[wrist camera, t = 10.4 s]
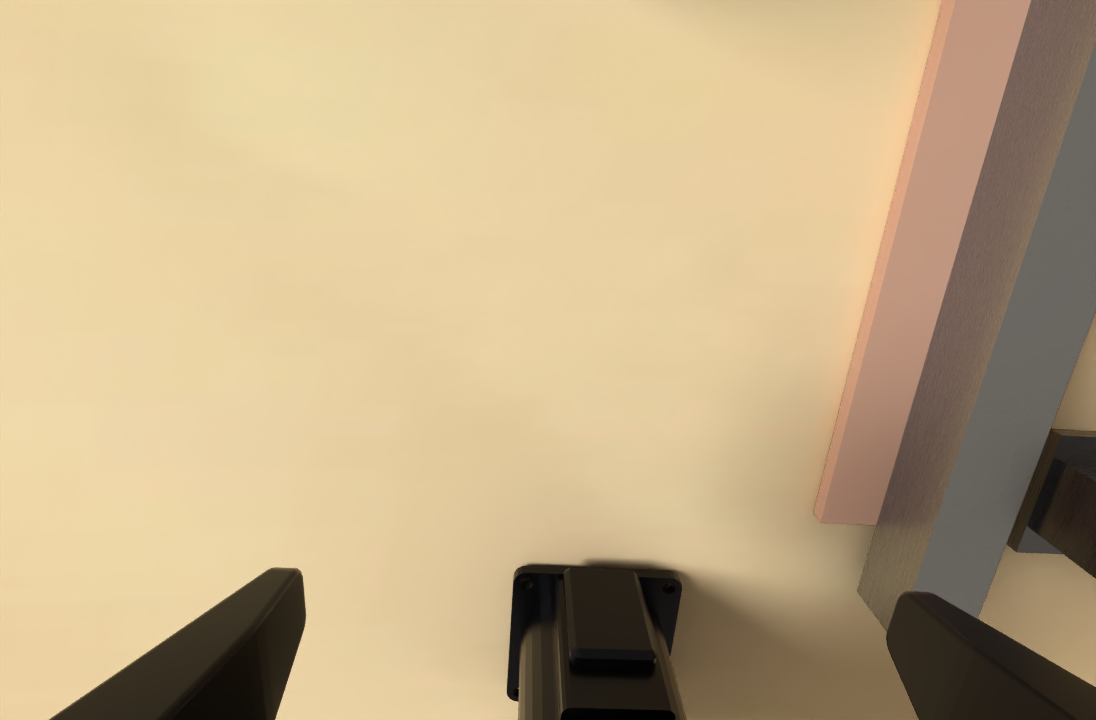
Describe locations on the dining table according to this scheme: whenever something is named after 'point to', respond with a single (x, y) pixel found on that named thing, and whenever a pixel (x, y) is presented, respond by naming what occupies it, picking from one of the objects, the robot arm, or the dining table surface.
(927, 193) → the mat
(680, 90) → the dining table surface
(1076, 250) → the rail
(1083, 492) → the post
